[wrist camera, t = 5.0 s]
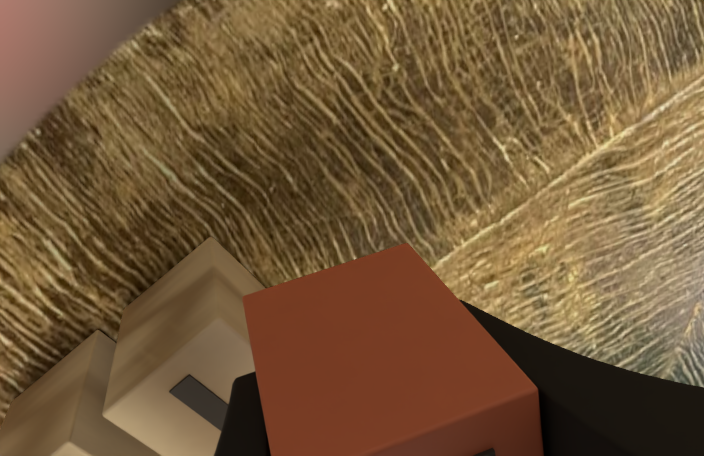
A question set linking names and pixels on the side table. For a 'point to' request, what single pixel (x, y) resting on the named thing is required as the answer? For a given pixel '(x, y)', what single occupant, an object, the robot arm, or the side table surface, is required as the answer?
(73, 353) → the beige dark-barred block
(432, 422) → the red slotted block
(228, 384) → the tan rectangular block
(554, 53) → the side table surface
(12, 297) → the side table surface
